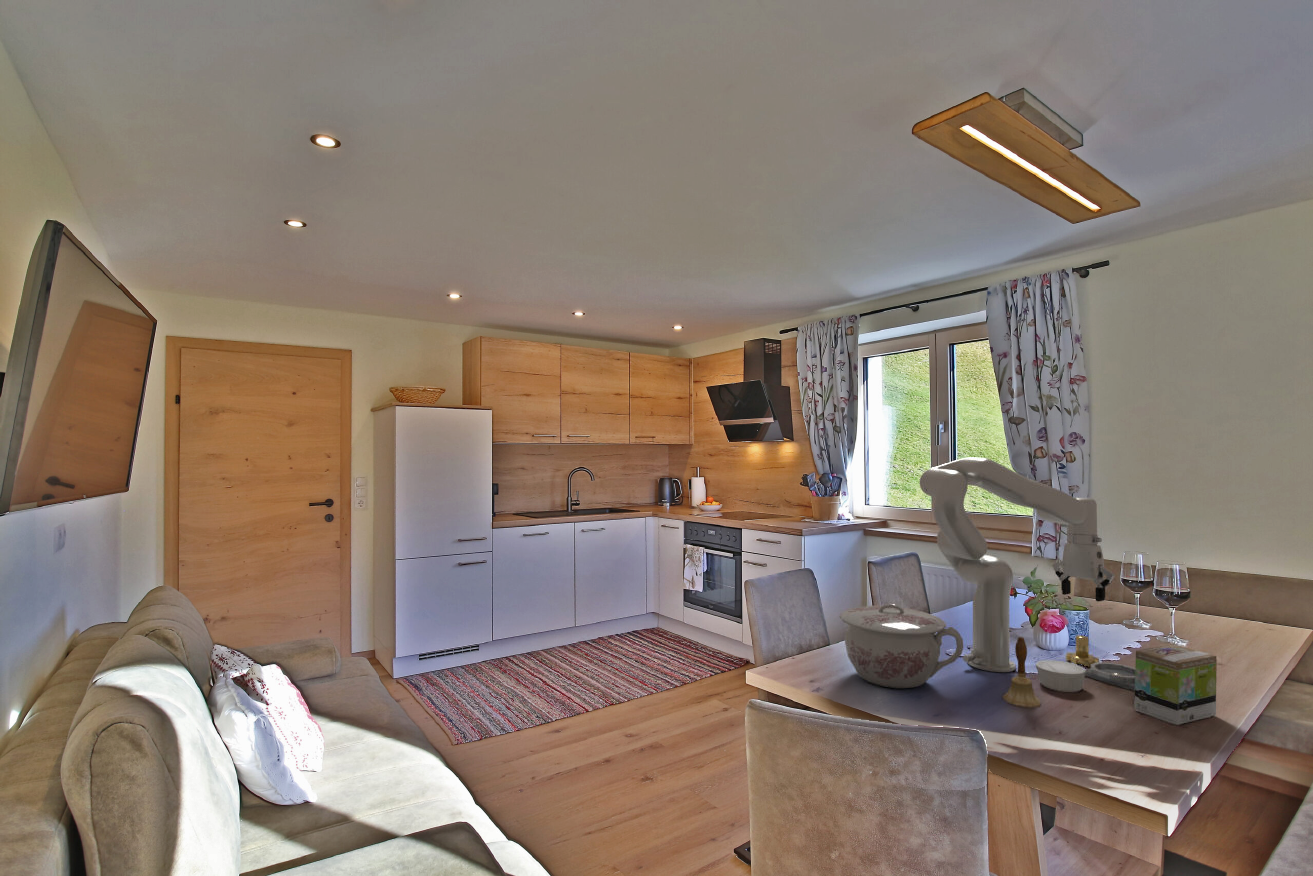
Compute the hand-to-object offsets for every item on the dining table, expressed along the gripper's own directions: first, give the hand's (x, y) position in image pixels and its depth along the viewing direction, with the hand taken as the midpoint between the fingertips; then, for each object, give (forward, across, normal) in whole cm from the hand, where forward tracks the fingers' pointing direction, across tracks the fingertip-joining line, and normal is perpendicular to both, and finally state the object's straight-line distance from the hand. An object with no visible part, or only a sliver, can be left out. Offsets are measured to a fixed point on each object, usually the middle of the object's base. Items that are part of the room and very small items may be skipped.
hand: (1082, 597), depth 195 cm
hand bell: (+19, -11, +44) cm, 50 cm away
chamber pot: (+19, +14, +62) cm, 67 cm away
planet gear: (+19, 0, 0) cm, 19 cm away
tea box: (+19, -32, +19) cm, 42 cm away
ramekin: (+19, -9, +26) cm, 33 cm away
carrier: (+19, -15, +6) cm, 25 cm away
